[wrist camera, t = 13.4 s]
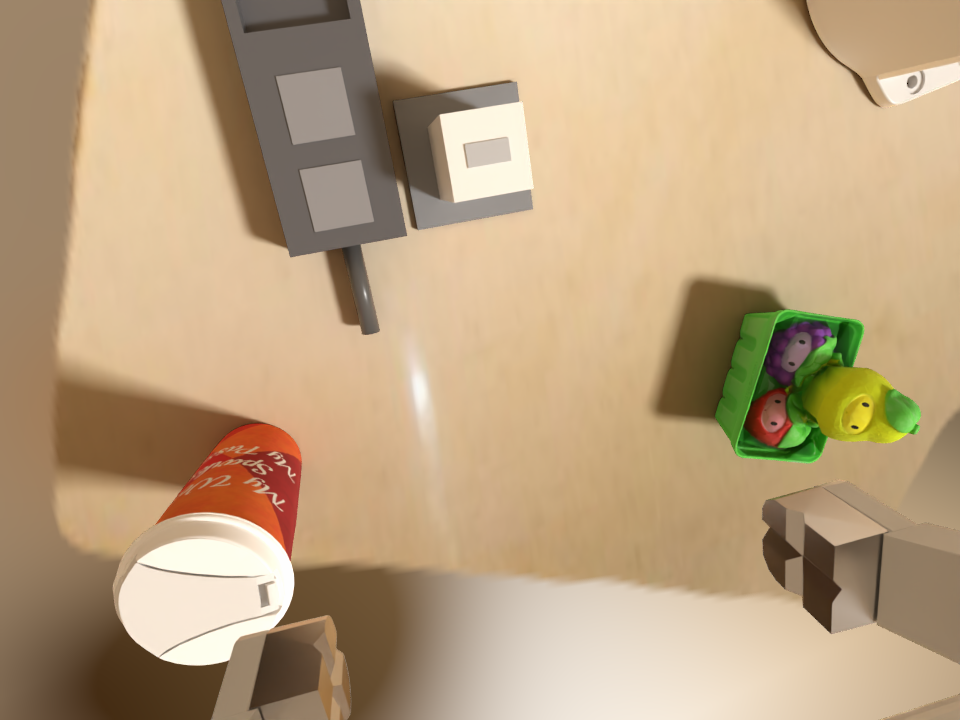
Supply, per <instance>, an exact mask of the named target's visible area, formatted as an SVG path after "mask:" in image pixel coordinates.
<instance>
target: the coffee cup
mask: <svg viewBox="0 0 960 720" xmlns="http://www.w3.org/2000/svg"><path fill="white" fill-rule="evenodd" d="M301 464H302V461H301V454H300V450H299V448H298V446H297V444H296V442H295V441H294V440H293V438H292V437H291V436H290V435H289V434H287V433H286V432H285V431H283V430H281V429H280V428H277V427H275V426H272V425H268V424H261V423H254V424H247V425H243V426H241V427H238V428H236V429H234V430H233V431H231V432H230V433H228V434H227V435H226V436H225V437H224V438H223V439H222V440H221V441H220V442H219V443H218V445H217V446H216V447H215V448H214V449H213V451H212V452H211V453H210V454H209V456H208V457H207V458H206V459H205V461H204V462H203V463H202V464H201V466H200V467H199V468H198V470H197V471H196V472H195V473H194V475H193V476H192V477H191V479H190V480H189V481H188V483H187V484H186V485H185V486H184V488H183V489H182V490H181V492H180V493H179V494H178V496H177V497H176V498H175V499H174V501H173V502H172V503H171V505H170V506H169V507H168V509H167V510H166V511H165V512H164V514H163V515H162V516H161V518H160V519H159V520H158V522H157V523H156V524H155V525H154V526H152V527H151V528H149V529H148V530H146V531H145V532H143V533H142V534H141V535H140V536H139V537H138V538H137V539H136V540H135V541H134V542H133V543H132V544H131V545H130V547H129V548H128V549H127V551H126V552H125V554H124V556H123V558H122V560H121V562H120V564H119V568H118V572H117V575H116V578H115V581H114V584H113V593H114V604H115V608H116V612H117V614H118V617H119V619H120V620H121V622H122V623H123V625H124V626H125V628H126V630H127V632H128V633H129V635H130V636H131V637H132V638H133V639H134V640H135V641H136V642H137V643H138V644H139V645H141V646H142V647H143V648H145V649H146V650H148V651H149V652H151V653H152V654H154V655H155V656H157V657H159V658H161V659H163V660H166V661H170V662H173V663H178V664H185V665H208V664H215V663H220V662H224V661H227V660H230V656H231V653H232V650H233V647H234V644H235V642H236V641H237V640H238V639H239V638H240V637H241V636H245V635H249V634H253V633H257V632H261V631H265V630H270V629H272V628H273V627H274V626H275V625H276V624H277V623H278V622H279V621H280V619H281V618H282V617H283V616H284V614H285V612H286V610H287V609H288V607H289V604H290V601H291V599H292V595H293V589H294V573H293V569H292V565H291V562H290V561H291V553H292V545H293V539H294V533H295V526H296V518H297V508H298V497H299V488H300V479H301Z"/></svg>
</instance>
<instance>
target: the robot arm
mask: <svg viewBox="0 0 960 720" xmlns="http://www.w3.org/2000/svg"><path fill="white" fill-rule="evenodd" d="M806 1H807V6H808V10H809V14H810V17H811V20H812V22H813V25H814V27H815V29H816V31H817V33H818V35H819V37H820V39H821V40H822V42H823V43H824V45H825V46H826V48H827V49H828V50H829V51H830V52H831V53H832V54H833V55H834V56H835V57H836V58H837V59H838V60H839V61H840V62H842V63H843V64H845V65H846V66H848V67H849V68H851V69H852V70H853V71H855V72H856V73H857V74H858V75H859V76H860V77H861V78H862V79H863V81H864V83H865V85H866V87H867V89H868V91H869V93H870V94H871V96H872V98H873V99H874V101H875V102H876V103H877V104H878V105H879V106H881V107H883V108H889V107H893V106H896V105H900V104H903V103H905V102H908V101H910V100H913V99H915V98H917V97H920V96H922V95H925V94H927V93H930V92H932V91H935V90H937V89H939V88H942V87H944V86H947V85H949V84H952V83H954V82H957V81H959V80H960V0H806ZM907 80H908V86H907ZM762 520H763V521H764V522H765V523H766V524H767V525H768V526H769V527H770V528H769V529H768V531H767V533H766V534H765V536H764V538H763V539H762V542H763V556H764V558H765V561H766V564H767V566H768V569H769V571H770V572H771V574H772V575H773V577H774V578H775V580H776V581H777V582H778V583H779V584H780V585H781V586H782V587H783V588H784V589H785V590H787V591H790V592H793V593H795V594H798V595H800V596H802V602H803V607H804V608H805V609H806V610H807V611H808V612H809V613H810V614H811V615H812V616H813V617H814V618H815V619H816V620H817V621H818V622H819V623H820V624H821V625H822V626H823V627H824V628H825V629H826V630H827V631H828V632H830V633H831V634H833V633H838V632H841V631H845V630H849V629H853V628H856V627H860V626H864V625H868V624H872V623H875V622H877V625H878V626H880V627H882V628H885V629H887V630H889V631H891V632H893V633H895V634H897V635H899V636H902V637H903V638H906V639H908V640H910V641H912V642H914V643H916V644H918V645H920V646H923V647H925V648H927V649H929V650H931V651H933V652H935V653H937V654H940V655H941V656H943V657H946V658H948V659H950V660H952V661H954V662H956V663H958V664H960V531H959V530H955V529H951V528H947V527H942V526H938V525H934V524H930V523H921V524H916V523H914V522H913V521H911V520H910V519H908V518H906V517H905V516H903V515H902V514H900V513H898V512H897V511H895V510H894V509H892V508H890V507H889V506H887V505H885V504H884V503H882V502H881V501H879V500H877V499H876V498H874V497H872V496H871V495H869V494H868V493H866V492H864V491H863V490H861V489H859V488H858V487H856V486H855V485H853V484H851V483H850V482H848V481H844V480H839V479H838V480H835V481H831V482H828V483H824V484H821V485H817V486H814V487H813V488H809V489H806V490H802V491H798V492H794V493H791V494H787V495H783V496H780V497H776V498H772V499H768V500H766V501H765V503H764V505H763V508H762ZM336 640H337V632H336V629H335V626H334V623H333V620H332V618H331V617H330V616H329V615H327V616H322V617H318V618H314V619H309V620H305V621H301V622H297V623H293V624H288V625H285V626H280V627H276V628H272V629H270V630H265V631H261V632H257V633H253V634H249V635H245V636H241V637H240V638H239V639H238V640H237V641H236V642H235V644H234V647H233V650H232V653H231V656H230V660H229V663H228V666H227V670H226V673H225V677H224V680H223V683H222V686H221V690H220V693H219V696H218V699H217V703H216V706H215V710H214V713H213V716H212V719H211V720H347V718H348V717H349V715H350V714H351V692H350V680H349V674H348V669H347V665H346V661H345V658H344V654H343V653H342V652H340V651H339V650H337V649H336ZM880 720H960V694H958V695H955V696H951V697H948V698H945V699H942V700H939V701H936V702H933V703H930V704H927V705H924V706H920V707H918V708H914V709H911V710H908V711H905V712H902V713H899V714H896V715H893V716H889V717H886V718H883V719H880Z"/></svg>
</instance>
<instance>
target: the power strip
mask: <svg viewBox="0 0 960 720" xmlns="http://www.w3.org/2000/svg"><path fill="white" fill-rule="evenodd" d="M221 1H222V5H223V9H224V12H225V16H226V20H227V24H228V27H229V31H230V35H231V38H232V42H233V46H234V50H235V53H236V57H237V61H238V64H239V68H240V72H241V76H242V79H243V83H244V87H245V91H246V94H247V98H248V102H249V105H250V109H251V113H252V117H253V120H254V124H255V128H256V132H257V135H258V139H259V143H260V146H261V150H262V154H263V158H264V161H265V165H266V169H267V172H268V176H269V180H270V184H271V187H272V191H273V195H274V199H275V202H276V206H277V210H278V213H279V217H280V221H281V225H282V228H283V232H284V236H285V239H286V243H287V247H288V251H289V254H290V257H295V256H300V255H305V254H311V253H316V252H322V251H327V250H333V249H338V248H342V251H343V255H344V259H345V264H346V268H347V272H348V276H349V280H350V284H351V289H352V293H353V297H354V301H355V305H356V310H357V314H358V318H359V322H360V326H361V331H362V334H363V335H369V334H374V333H377V332H379V331H380V329H379V324H378V320H377V316H376V311H375V307H374V302H373V298H372V294H371V289H370V285H369V280H368V276H367V272H366V267H365V263H364V258H363V254H362V250H361V245H360V244H365V243H371V242H376V241H382V240H387V239H392V238H398V237H403V236H407V233H406V228H405V223H404V218H403V213H402V208H401V203H400V198H399V193H398V188H397V183H396V178H395V173H394V168H393V163H392V158H391V153H390V148H389V143H388V138H387V133H386V128H385V123H384V118H383V113H382V108H381V103H380V98H379V93H378V88H377V83H376V78H375V73H374V68H373V63H372V58H371V53H370V48H369V43H368V38H367V33H366V28H365V23H364V18H363V13H362V8H361V3H360V0H221Z"/></svg>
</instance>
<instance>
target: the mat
mask: <svg viewBox="0 0 960 720" xmlns="http://www.w3.org/2000/svg"><path fill="white" fill-rule="evenodd" d="M516 102H519V96H518V88H517V82H512V83H505V84H499V85H493V86H486V87H480V88H473V89H467V90H460V91H454V92H447V93H441V94H434V95H428V96H421V97H415V98H408V99H402V100H395V101H393V105H394V110H395V115H396V120H397V125H398V131H399V136H400V141H401V146H402V151H403V156H404V162H405V167H406V172H407V177H408V182H409V187H410V193H411V198H412V203H413V208H414V213H415V218H416V224H417V229H418V230H421V229H427V228H432V227H438V226H443V225H449V224H454V223H460V222H465V221H471V220H476V219H482V218H487V217H493V216H498V215H503V214H509V213H514V212H520V211H525V210H531V209H533V205H532V197H531V189H529V190H523V191H518V192H512V193H507V194H501V195H495V196H490V197H484V198H479V199H473V200H468V201H462V202H456V203H453V202H449V201H444V200H440V196H439V190H438V184H437V179H436V173H435V168H434V162H433V156H432V151H431V145H430V140H429V134H428V128H427V127H428V126H429V125H430V124H431V123H432V122H433V121H434V120H435V119H436V118H437V117H438V116H439V115H440V114H446V113H453V112H459V111H465V110H472V109H478V108H484V107H490V106H497V105H503V104H509V103H516Z"/></svg>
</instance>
